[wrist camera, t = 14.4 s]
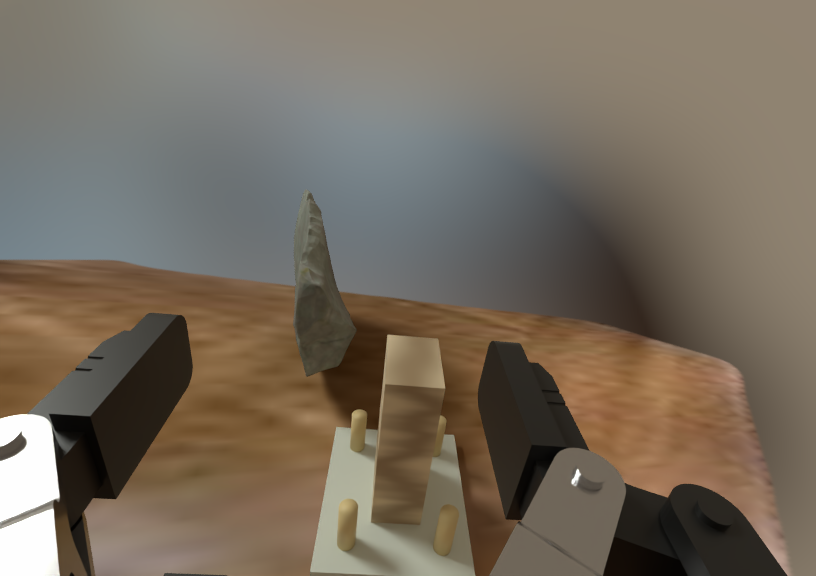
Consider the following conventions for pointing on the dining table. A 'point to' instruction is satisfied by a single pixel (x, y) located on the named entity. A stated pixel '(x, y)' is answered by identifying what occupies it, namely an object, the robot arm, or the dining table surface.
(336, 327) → the rock
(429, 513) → the peg board
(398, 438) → the tan wooden block
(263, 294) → the dining table surface
